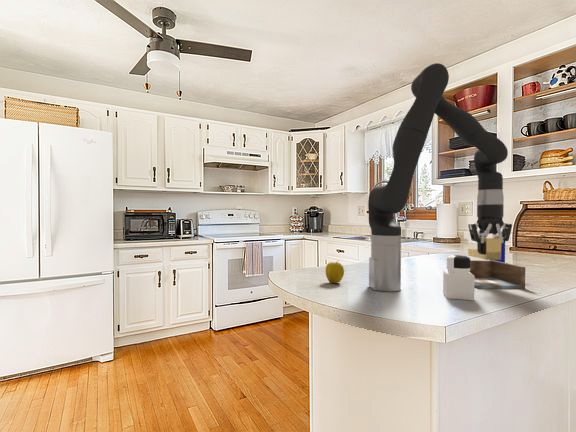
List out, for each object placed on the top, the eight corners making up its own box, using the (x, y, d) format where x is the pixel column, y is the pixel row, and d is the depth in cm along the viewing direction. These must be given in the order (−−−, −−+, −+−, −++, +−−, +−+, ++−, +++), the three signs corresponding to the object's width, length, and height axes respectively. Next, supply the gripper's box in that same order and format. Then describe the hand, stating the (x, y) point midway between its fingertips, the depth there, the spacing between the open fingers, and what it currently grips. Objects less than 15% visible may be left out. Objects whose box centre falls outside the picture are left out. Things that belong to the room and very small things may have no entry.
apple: (345, 285, 107) (345, 261, 107) (326, 285, 107) (326, 261, 107) (342, 281, 114) (342, 258, 114) (324, 281, 114) (324, 258, 114)
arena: (476, 288, 104) (477, 267, 104) (451, 279, 119) (452, 260, 119) (525, 288, 104) (525, 267, 104) (494, 279, 119) (494, 260, 119)
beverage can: (500, 274, 129) (500, 237, 129) (507, 276, 124) (508, 238, 124) (486, 274, 129) (487, 237, 129) (493, 276, 124) (494, 238, 124)
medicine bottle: (469, 294, 96) (469, 254, 96) (474, 301, 89) (475, 258, 89) (442, 292, 98) (443, 253, 98) (446, 298, 91) (446, 256, 91)
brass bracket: (468, 255, 116) (468, 236, 116) (481, 255, 116) (481, 236, 116) (486, 259, 106) (486, 238, 106) (501, 259, 106) (501, 238, 106)
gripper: (503, 203, 111) (502, 252, 112) (462, 203, 111) (462, 252, 111) (519, 203, 104) (518, 255, 104) (476, 203, 103) (475, 255, 104)
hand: (489, 253), depth 108 cm, fingers closed on brass bracket, 5 cm apart
